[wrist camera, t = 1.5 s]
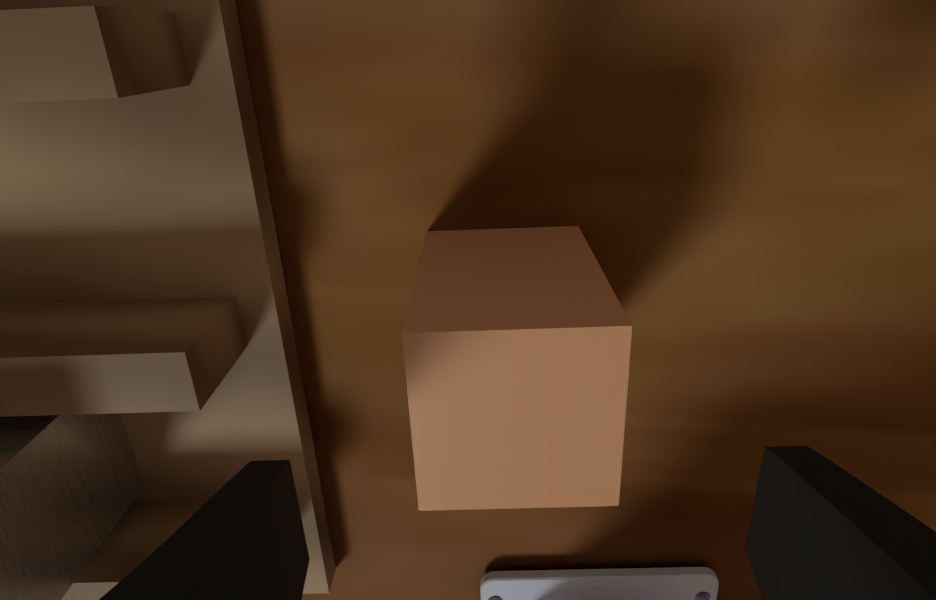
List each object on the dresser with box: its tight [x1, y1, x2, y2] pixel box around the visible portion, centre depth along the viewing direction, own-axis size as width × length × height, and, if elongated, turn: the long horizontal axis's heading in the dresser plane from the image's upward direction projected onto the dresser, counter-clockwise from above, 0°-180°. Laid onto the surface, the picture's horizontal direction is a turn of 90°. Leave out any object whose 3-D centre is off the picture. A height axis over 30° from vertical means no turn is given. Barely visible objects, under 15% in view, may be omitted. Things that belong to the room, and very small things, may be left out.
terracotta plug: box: [402, 226, 632, 511], centre depth 14 cm, size 4×4×6 cm
